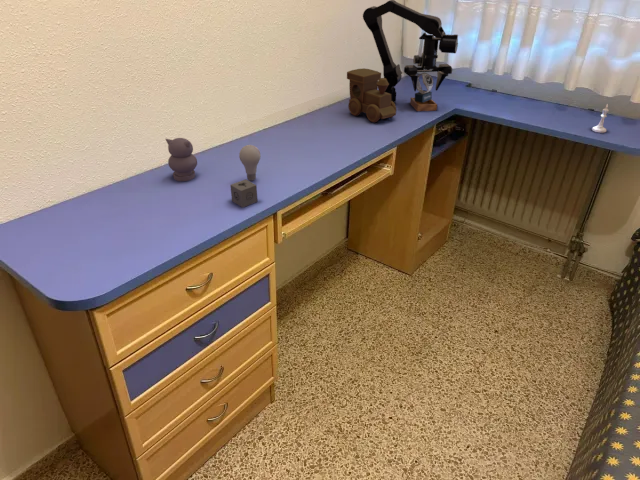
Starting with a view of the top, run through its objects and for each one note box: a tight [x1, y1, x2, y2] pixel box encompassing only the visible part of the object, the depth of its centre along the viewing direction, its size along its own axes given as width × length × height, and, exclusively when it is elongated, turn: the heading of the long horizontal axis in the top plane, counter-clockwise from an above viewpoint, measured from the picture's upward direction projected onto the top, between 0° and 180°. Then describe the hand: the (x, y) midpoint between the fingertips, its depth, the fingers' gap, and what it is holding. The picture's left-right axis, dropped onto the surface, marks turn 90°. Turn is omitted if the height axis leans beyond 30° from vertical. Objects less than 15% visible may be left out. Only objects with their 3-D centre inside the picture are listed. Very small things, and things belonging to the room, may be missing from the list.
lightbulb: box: [238, 144, 261, 182], centre depth 141 cm, size 6×6×11 cm
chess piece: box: [591, 103, 609, 134], centre depth 181 cm, size 5×5×10 cm
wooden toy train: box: [346, 68, 397, 123], centre depth 191 cm, size 20×11×17 cm, turn 40°
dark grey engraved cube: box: [229, 179, 258, 208], centre depth 131 cm, size 5×5×5 cm
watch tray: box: [409, 97, 438, 112], centre depth 206 cm, size 8×11×3 cm
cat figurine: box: [165, 137, 198, 182], centre depth 143 cm, size 8×8×12 cm
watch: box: [414, 72, 435, 103], centre depth 202 cm, size 6×8×11 cm
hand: (425, 90), depth 202 cm, fingers open, 9 cm apart
